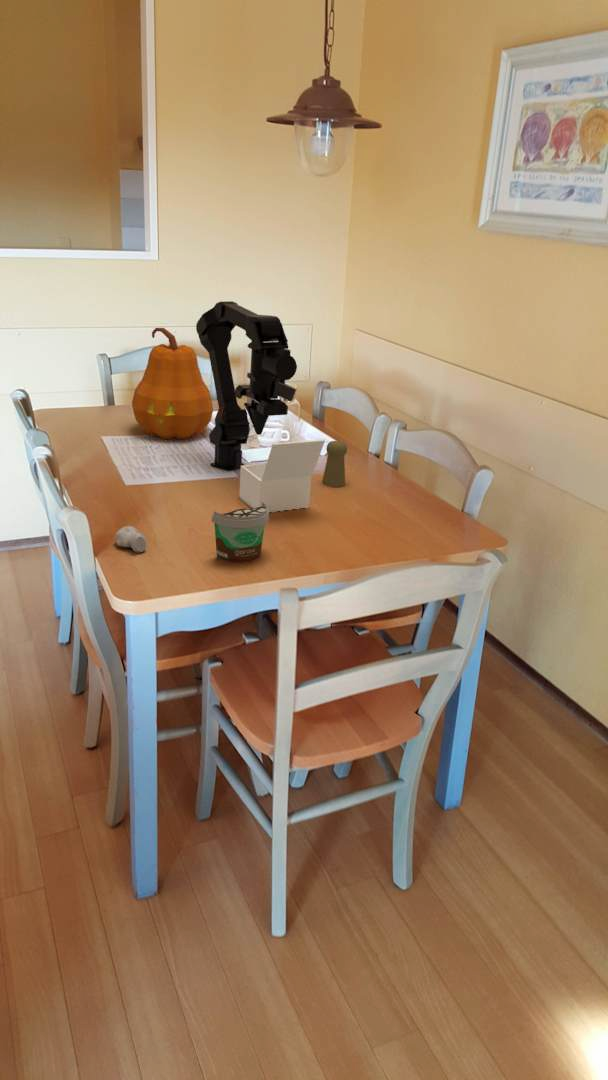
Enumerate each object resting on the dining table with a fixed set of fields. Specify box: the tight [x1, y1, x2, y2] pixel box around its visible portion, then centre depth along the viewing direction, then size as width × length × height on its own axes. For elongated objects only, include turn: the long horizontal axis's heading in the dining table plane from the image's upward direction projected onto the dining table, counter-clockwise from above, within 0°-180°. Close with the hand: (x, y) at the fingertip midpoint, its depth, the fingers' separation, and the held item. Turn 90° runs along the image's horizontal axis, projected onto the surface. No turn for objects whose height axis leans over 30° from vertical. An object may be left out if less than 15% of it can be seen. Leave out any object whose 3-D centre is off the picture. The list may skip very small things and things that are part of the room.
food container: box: [210, 502, 270, 564], centre depth 161 cm, size 12×6×10 cm, turn 126°
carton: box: [238, 462, 313, 514], centre depth 191 cm, size 11×13×8 cm
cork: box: [321, 440, 348, 488], centre depth 206 cm, size 6×6×11 cm
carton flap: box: [262, 439, 326, 481], centre depth 181 cm, size 11×13×1 cm
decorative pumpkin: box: [131, 327, 214, 440], centre depth 234 cm, size 24×24×30 cm
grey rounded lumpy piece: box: [115, 525, 147, 554], centre depth 163 cm, size 4×8×5 cm
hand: (258, 434), depth 199 cm, fingers closed
